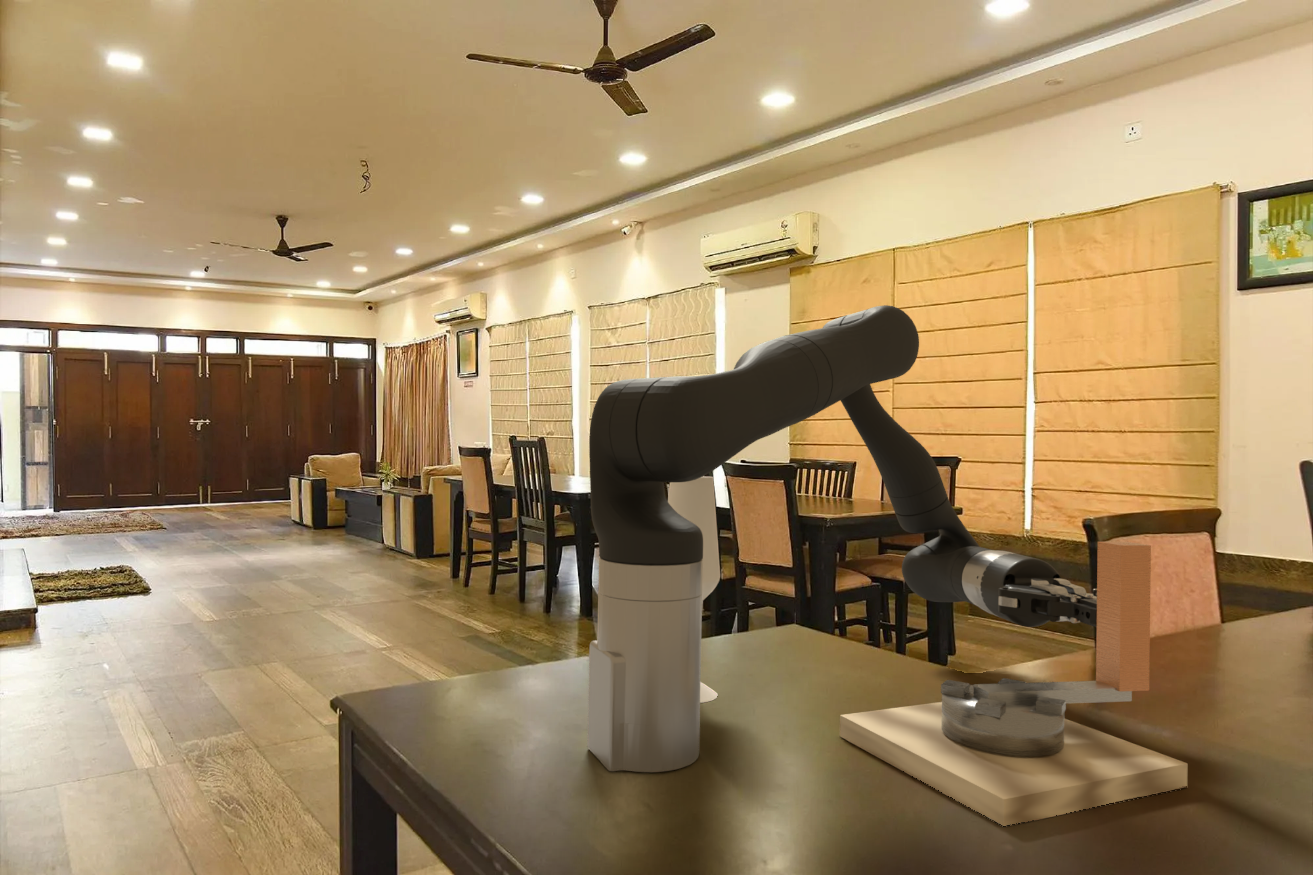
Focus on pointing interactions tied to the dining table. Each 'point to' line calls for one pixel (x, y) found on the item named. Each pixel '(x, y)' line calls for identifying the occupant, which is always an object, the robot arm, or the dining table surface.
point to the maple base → (1013, 766)
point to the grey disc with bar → (1036, 710)
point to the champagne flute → (699, 509)
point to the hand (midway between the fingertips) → (1112, 618)
